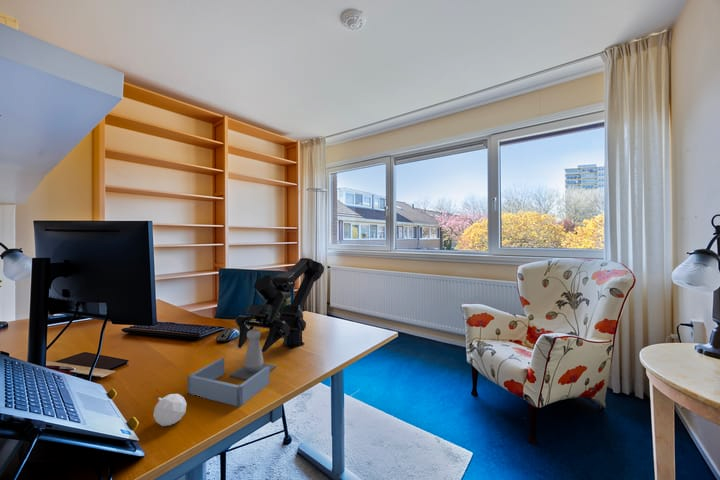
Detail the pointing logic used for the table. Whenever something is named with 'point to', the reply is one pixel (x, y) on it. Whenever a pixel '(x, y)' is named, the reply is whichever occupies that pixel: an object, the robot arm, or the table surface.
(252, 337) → the salt shaker
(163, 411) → the ornament
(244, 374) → the coaster
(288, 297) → the coffee jar
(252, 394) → the cradle
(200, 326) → the table surface
